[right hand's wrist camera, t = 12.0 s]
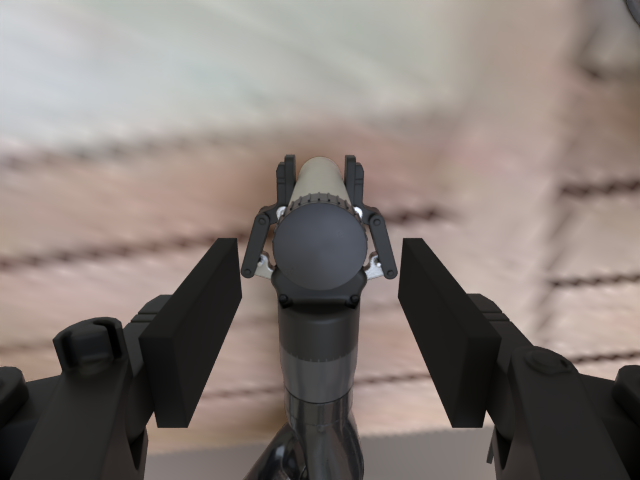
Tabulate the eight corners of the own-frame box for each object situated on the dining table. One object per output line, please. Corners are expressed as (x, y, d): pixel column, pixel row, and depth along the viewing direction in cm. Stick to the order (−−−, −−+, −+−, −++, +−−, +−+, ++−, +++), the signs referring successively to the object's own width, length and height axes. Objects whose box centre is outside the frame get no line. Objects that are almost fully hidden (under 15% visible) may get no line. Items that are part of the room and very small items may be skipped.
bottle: (311, 148, 33) (302, 188, 16) (348, 169, 34) (378, 229, 16) (291, 186, 34) (263, 260, 17) (328, 205, 35) (335, 296, 18)
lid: (301, 174, 17) (299, 182, 15) (380, 218, 18) (388, 230, 16) (261, 250, 19) (254, 266, 17) (336, 287, 19) (338, 306, 17)
